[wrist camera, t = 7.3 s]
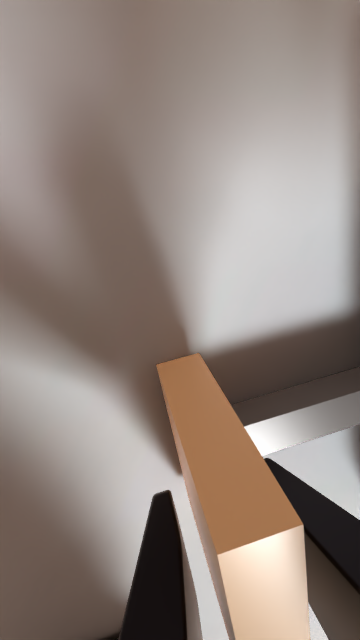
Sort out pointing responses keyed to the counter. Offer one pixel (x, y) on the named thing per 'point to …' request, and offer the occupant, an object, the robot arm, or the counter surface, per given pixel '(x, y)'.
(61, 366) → the counter surface
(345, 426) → the sliding frame
